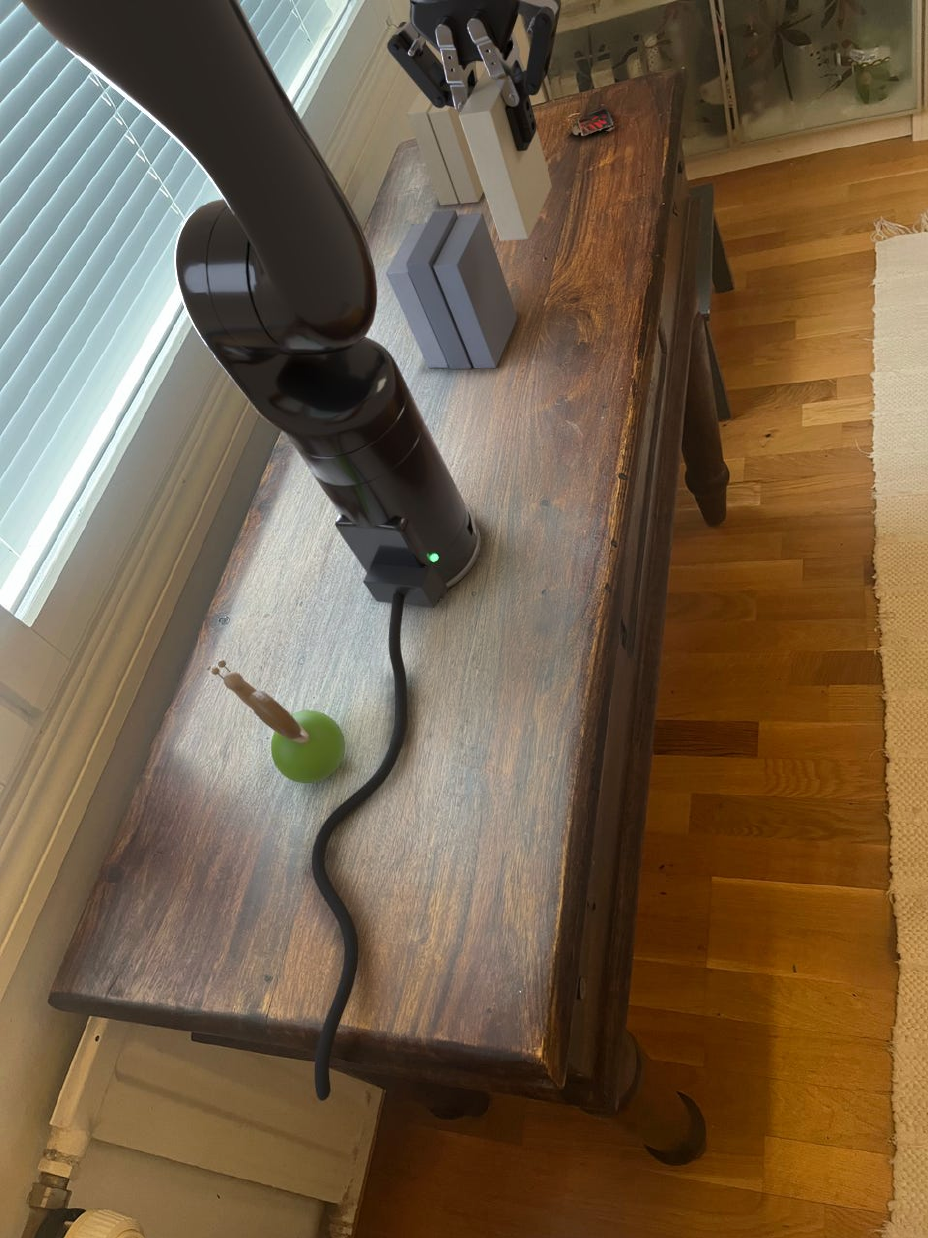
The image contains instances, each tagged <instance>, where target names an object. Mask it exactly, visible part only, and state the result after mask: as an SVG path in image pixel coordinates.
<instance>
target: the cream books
mask: <svg viewBox="0 0 928 1238" xmlns="http://www.w3.org/2000/svg"><path fill="white" fill-rule="evenodd" d="M459 115H460V113H459V112H458V111H457V110H456V108H454V107H450V106H446V105H445V106H444V107H443V108H437V107H435V106H434V105H433V104H432V103H431V101H430V100H429V99H428V98H427V97H426V95H425V94H424V93H423V92H422V91H421V90H419V92H418V94H417V96H416V98H415V100H414V101H413V103H412V104H411V105H410V107H409V110H408V111H407V112H406V116H407V120H408V122H409V125H410V127H411V130H412V133H413V135H414V138H415V141H416V143H417V146H418V149H419V151H420V154H421V157H422V160H423V163H424V165H425V168H426V170H427V173H428V176H429V179H430V181H431V184H432V187H433V189H434V192H435V195H436V197H437V199H438V202H439V205H440V206H441V207H442V206H451V205H459V204H461V205H462V204H472V203H473V204H475V203H479V202H480V200H481V198H482V196H483V194H484V190H483V187H482V184H481V181H480V178H479V175H478V172H477V169H476V166H475V162H474V159H473V156H472V153H471V150H470V147H469V144H468V141H467V138H466V135H465V132H464V129H463V126H462V123H461V120H460V117H459Z"/></svg>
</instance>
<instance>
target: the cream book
mask: <svg viewBox="0 0 928 1238" xmlns="http://www.w3.org/2000/svg"><path fill="white" fill-rule="evenodd" d="M506 105H507V104H506V103H505V101H504V98H503V96H502V94H501V91H500V89H499V87H498V84H497V82H496V80H493V79H492V78H491V77H490V75H489V72H488V70H487V68H486V66H485V67H484V69H483V71H482V73H481V75H480V76H479V78H478V82H477V84H476V85H475V87H474V89H473V91H472V93H471V95H470V96H469V98H468V100H467V102H466V104H465V105H464V107H463V109H462V111H461V113H460V115H459V117H460V120H461V123H462V126H463V129H464V132H465V135H466V138H467V141H468V144H469V147H470V150H471V153H472V156H473V159H474V162H475V166H476V169H477V172H478V175H479V178H480V181H481V184H482V187H483V190H484V192H483V194H484V196H485V199H486V201H487V205H488V207H489V208H488V209H489V211H490V214H491V217H492V220H493V223H494V226H495V229H496V232H497V235H498V238H499V241H500V242H507V241H520V240H521V241H523V240H529V239H530V236H531V234H532V232H533V230H534V228H535V225H536V223H537V221H538V219H539V217H540V215H541V212H542V210H543V208H544V205H545V204H546V201H547V199H548V196H549V194H550V192H551V190H552V187H553V184H552V182H551V177H550V174H549V170H548V166H547V163H546V158H545V154H544V151H543V150H544V149H543V147H542V143H541V139H540V135H539V132H538V128H536V133H535V135H534V137H533V139H532V141H531V143H530V145H529V147H528V149H527V150H526V151H517V149H516V146H515V142H514V139H513V135H512V132H511V128H510V125H509V122H508V118H507V115H506V111H505V107H506Z"/></svg>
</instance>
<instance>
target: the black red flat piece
mask: <svg viewBox="0 0 928 1238" xmlns="http://www.w3.org/2000/svg"><path fill="white" fill-rule="evenodd" d="M612 126H613V127H612ZM606 128H608V129H606ZM616 128H618V127H617V126H616V127H615V126H614V121H613V118H612V117H611V113H610V112H609V111H608V110H607V109H605V108H599V109H598V110H594V111H592V112H590V113H587V114H586V115H584V116H583V117H582V118H580V119H578V120H577V124H575V125H574V126H573V127H571V130H570V131H571V132H572V134H573V135H575V136H579V134H580V135H581V137H584V136H587V135H589V134H592V133H594V132H597V131H602V130H603V129H606V130H605V131H606V132H611V131H613V130H615V129H616Z"/></svg>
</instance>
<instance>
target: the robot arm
mask: <svg viewBox="0 0 928 1238" xmlns="http://www.w3.org/2000/svg"><path fill="white" fill-rule="evenodd" d="M20 1H21V3H22V4H23V5H24V7H26V9H27V10H28V11H29V13H30V14H31V15H32V16H33V17H34V18H35V19H36V21H38V23H39V24H40V25H41V26H42V27H43V28H44V29H45V30H46V31H47V32H48V33H49V34H50V35H51V36H52V37H53V38H54V39H55V40H56V41H58V42H59V43H60V44H61V45H62V46H63V47H64V48H65V49H66V50H67V51H68V52H69V53H71V54H72V55H73V56H74V57H76V58H77V59H78V60H79V61H80V62H81V63H83V64H84V65H85V66H86V67H87V68H88V69H90V70H91V71H92V72H93V73H94V74H95V75H97V76H98V77H99V78H100V79H101V80H103V81H104V82H105V83H107V84H108V85H109V86H111V88H113V89H114V90H116V91H117V92H118V93H119V94H120V95H121V96H122V97H124V98H125V99H126V100H128V101H129V102H130V103H132V104H133V105H134V106H135V107H136V108H137V109H139V110H140V111H141V112H142V113H144V114H145V115H146V116H148V118H150V119H151V120H152V121H153V122H154V123H155V124H156V125H158V126H159V127H160V128H162V130H164V131H165V132H166V133H167V134H169V135H170V136H171V137H172V138H173V139H174V140H175V141H176V142H177V143H178V144H179V145H180V146H181V147H182V148H183V149H184V150H185V151H186V152H187V153H188V154H189V155H190V156H191V157H192V159H193V160H194V161H195V162H196V163H197V164H198V166H200V168H201V169H202V171H204V173H205V174H206V176H207V177H208V178H209V180H210V181H211V182H212V184H213V185H214V187H215V188H216V190H217V191H218V193H219V194H220V196H221V197H222V199H217V200H213V201H209V202H207V203H204V204H201V206H199V207H197V208H196V209H195V210H194V211H193V212H191V213H190V214H189V215H188V217H187V218H186V219H185V220H184V222H183V224H182V226H181V228H180V230H179V233H178V236H177V238H176V244H175V247H174V248H175V249H174V270H175V278H176V279H175V280H176V283H177V287H178V291H179V294H180V298H181V301H182V303H183V306H184V308H185V311H186V313H187V315H188V317H189V319H190V321H191V323H192V325H193V327H194V328H195V330H196V332H197V334H198V335H199V336H200V338H201V339H202V341H203V342H204V343H203V344H205V345H206V347H207V348H208V350H209V351H210V352H211V354H212V355H213V357H214V358H215V359H216V361H217V362H218V363H219V365H220V366H221V367H222V368H223V370H224V371H225V372H226V373H227V375H228V376H229V378H230V379H231V380H232V381H233V383H234V384H235V385H236V386H237V388H238V389H239V390H240V392H241V393H242V395H243V396H244V397H245V398H246V400H247V401H248V403H249V404H250V405H251V406H252V407H253V409H254V411H256V412H257V414H258V415H259V416H260V417H262V419H264V420H265V421H266V422H267V423H268V424H270V425H271V426H273V427H274V428H276V429H277V430H279V431H281V432H283V434H285V435H286V436H287V438H288V439H289V440H290V442H291V443H292V445H293V447H294V449H296V451H297V453H298V454H299V456H300V457H301V459H302V460H303V462H304V463H305V465H306V466H307V468H308V469H309V471H310V473H311V474H312V475H313V477H314V478H315V480H316V481H317V483H318V485H319V486H320V487H321V489H322V491H323V492H324V494H325V496H326V497H327V498H328V500H329V501H330V503H331V504H332V505H333V508H334V509H335V510H336V512H337V513H338V515H337V518H336V519H335V521H334V527H335V528H336V530H337V531H338V532H339V534H340V535H341V537H342V539H343V540H344V542H345V543H346V544H347V546H348V547H349V549H350V550H351V551H352V552H351V553H353V555H354V556H355V558H356V559H357V561H358V562H359V563H360V565H361V566H362V568H363V569H364V571H365V572H366V574H365V577H364V579H363V581H362V583H363V584H364V585H365V587H366V588H367V590H368V591H369V593H370V594H371V596H372V597H373V598H374V600H375V601H376V602H379V603H385V604H386V603H387V604H391V609H390V617H389V626H388V655H389V659H390V664H391V669H392V672H393V679H394V681H393V682H394V722H393V729H392V730H393V731H392V734H391V739H390V743H389V746H388V748H387V751H386V753H385V755H384V758H383V760H382V762H381V764H380V766H379V767H378V769H377V770H376V771H375V773H374V774H373V775H372V776H371V777H370V778H369V780H368V781H366V783H364V784H363V785H362V786H361V787H360V788H359V789H358V790H357V791H355V792H354V793H353V794H351V796H349V797H348V798H347V799H345V801H343V802H342V803H341V804H340V805H339V806H338V807H337V808H336V809H334V811H332V813H331V814H330V815H329V816H328V817H327V819H326V820H325V821H324V822H323V824H322V826H321V828H320V829H319V831H318V833H317V835H316V838H315V841H314V845H313V848H312V854H311V870H312V871H311V872H312V875H313V879H314V881H315V884H316V886H317V888H318V891H319V893H320V894H321V896H322V897H323V899H324V901H325V902H326V904H327V906H328V907H329V909H330V910H331V912H332V914H333V915H334V917H335V919H336V921H337V923H338V925H339V928H340V930H341V931H340V932H341V935H342V938H343V949H344V954H343V956H344V957H343V964H342V971H341V975H340V979H339V983H338V985H337V989H336V992H335V995H334V997H333V999H332V1002H331V1005H330V1006H329V1010H328V1013H327V1015H326V1018H325V1020H324V1023H323V1026H322V1029H321V1031H320V1035H319V1038H318V1043H317V1047H316V1053H315V1059H314V1086H315V1087H314V1088H315V1093H316V1097H317V1099H318V1100H319V1101H320V1102H321V1101H326V1100H327V1099H328V1098H329V1097H330V1094H331V1090H332V1089H331V1080H330V1060H331V1053H332V1048H333V1044H334V1041H335V1038H336V1034H337V1032H338V1028H339V1025H340V1023H341V1020H342V1017H343V1015H344V1013H345V1009H346V1007H347V1004H348V1002H349V999H350V996H351V994H352V990H353V987H354V985H355V980H356V975H357V970H358V963H359V940H358V933H357V930H356V925H355V923H354V920H353V918H352V915H351V913H350V911H349V910H348V908H347V906H346V905H345V903H344V901H343V900H342V898H341V897H340V895H339V893H338V892H337V890H336V889H335V887H334V886H333V884H332V882H331V880H330V878H329V875H328V873H327V868H326V859H325V857H326V851H327V847H328V843H329V840H330V838H331V836H332V834H333V833H334V831H335V830H336V828H337V827H338V826H339V825H340V824H341V822H342V821H344V819H345V818H347V816H349V814H351V813H352V812H353V811H354V810H355V809H356V808H358V807H360V805H361V804H362V803H364V802H365V801H366V800H367V799H369V798H370V797H371V796H372V795H373V794H374V793H375V792H376V791H377V790H378V789H379V788H380V787H381V786H382V785H383V784H384V782H385V781H386V780H387V778H388V777H389V776H390V774H391V772H392V770H393V769H394V766H395V765H396V764H397V760H398V759H399V756H400V753H401V750H402V748H403V744H404V740H405V736H406V732H407V731H406V730H407V724H408V723H407V722H408V693H407V692H408V691H407V689H408V687H407V686H408V685H407V673H406V668H405V663H404V660H403V654H402V646H401V639H402V638H401V635H402V622H403V613H404V606H410V607H411V606H412V607H418V608H419V607H420V608H429V609H435V608H436V605H437V603H438V602H439V601H440V600H443V599H444V598H445V596H446V594H447V591H448V590H449V589H450V588H451V587H454V586H455V585H456V584H457V583H458V582H460V581H461V580H462V579H464V578H465V576H466V575H467V574H469V572H470V571H471V569H472V568H473V567H474V565H475V564H476V562H477V559H478V558H479V554H480V552H481V545H482V537H481V533H480V529H479V527H478V525H477V523H476V521H475V517H474V511H473V509H472V507H471V505H470V504H468V507H467V505H466V503H465V501H464V500H463V497H462V495H461V493H460V490H459V489H458V487H457V485H456V483H455V481H454V479H453V477H452V475H451V473H450V471H449V469H448V466H447V465H446V462H445V461H444V458H443V456H442V454H441V452H440V450H439V448H438V446H437V444H436V442H435V440H434V438H433V436H432V434H431V432H430V430H429V428H428V425H427V423H426V422H425V419H424V417H423V416H422V414H421V411H420V409H419V407H418V405H417V402H416V401H415V398H414V397H413V394H412V392H411V391H410V388H409V386H408V384H407V383H406V380H405V379H404V376H403V374H402V372H401V369H400V367H399V366H398V364H397V362H396V360H395V359H394V357H393V356H392V354H391V353H390V352H389V350H388V349H386V348H385V346H383V345H382V344H380V343H379V342H377V341H375V340H374V339H372V338H369V337H367V335H368V333H369V332H370V330H371V327H372V325H373V323H374V320H375V318H376V317H375V316H376V311H377V306H378V285H377V284H378V283H377V275H376V269H375V265H374V261H373V256H372V253H371V249H370V246H369V243H368V241H367V238H366V236H365V233H364V230H363V228H362V225H361V223H360V221H359V219H358V216H357V215H356V213H355V211H354V209H353V207H352V205H351V204H350V202H349V200H348V198H347V196H346V194H345V193H344V191H343V189H342V187H341V186H340V184H339V182H338V181H337V179H336V177H335V175H334V173H333V172H332V170H331V168H330V167H329V165H328V163H327V161H326V160H325V158H324V156H323V155H322V153H321V151H320V150H319V148H318V146H317V145H316V143H315V142H314V140H313V138H312V136H311V135H310V132H309V131H308V130H307V127H306V126H305V124H304V122H303V121H302V119H301V117H300V115H299V114H298V112H297V110H296V108H295V107H294V105H293V103H292V102H291V100H290V98H289V96H288V95H287V93H286V90H285V89H284V88H283V86H282V84H281V82H280V80H279V78H278V76H277V75H276V72H275V71H274V69H273V67H272V65H271V63H270V60H269V59H268V57H267V55H266V53H265V51H264V49H263V48H262V45H261V43H260V41H259V40H258V37H257V35H256V33H255V30H254V28H253V27H252V25H251V24H250V21H249V19H248V17H247V16H246V13H245V11H244V9H243V7H242V5H241V3H240V1H239V0H20ZM409 6H410V8H409V20H407V21H401V22H400V23H399V25H398V26H397V27H396V29H395V31H394V32H393V34H392V35H391V37H390V39H389V40H388V42H387V44H386V48H387V51H388V52H389V53H390V55H391V56H392V57H393V58H394V60H395V61H396V62H397V63H398V65H399V66H400V67H401V68H402V70H403V71H404V72H405V73H406V74H407V75H408V77H409V78H410V79H411V80H412V82H414V84H415V85H416V86H417V87H418V88H419V90H420V91H422V92H423V93H424V94H425V95H426V97H427V98H428V99H429V100H430V101H431V103H432V104H433V105H434V106H435V107H437V108H443V107H444V106H445V105H446V106H450V107H454V108H456V110H457V111H458V112H459V113H461V111H462V109H463V107H464V105H465V104H466V102H467V100H468V98H469V96H470V95H471V93H472V91H473V89H474V87H475V85H476V84H477V82H478V80H479V78H478V74H477V67H476V65H477V62H482V63H484V65H485V67H486V68H487V70H488V72H489V75H490V77H491V78H492V79H493V80H496V82H497V84H498V87H499V89H500V91H501V94H502V96H503V98H504V101H505V103H506V104H507V105H506V107H505V111H506V115H507V118H508V122H509V125H510V128H511V132H512V135H513V139H514V142H515V146H516V149H517V151H526V150H527V149H528V147H529V145H530V143H531V141H532V139H533V137H534V135H535V133H536V128H537V127H538V125H537V121H536V117H535V113H534V109H533V105H532V102H531V98H530V96H536V95H537V94H539V91H540V90H541V87H542V84H543V83H544V80H545V79H546V78H547V75H548V74H549V71H550V65H551V60H552V54H553V50H554V49H553V48H554V44H555V39H556V33H557V30H558V24H559V18H560V12H561V8H562V0H409ZM518 16H521V18H522V19H523V22H524V29H525V32H526V34H527V35H528V36H530V37H531V39H530V45H529V51H528V57H527V63H526V67H524V64H523V62H522V59H521V57H520V53H521V52H520V45H519V44H518V41H517V39H516V36H515V33H514V29H515V26H516V23H517V20H518ZM427 42H428V43H429V44H430V45H431V46H432V47H433V48H434V49H435V50H436V51H437V52H439V53H440V55H441V59H442V62H441V60H440V59H439V58H438V57H437V56H436V54H435V53H434V52H433V51H432V49H431V48H430V47H429V45H428V44H427ZM537 129H538V128H537Z"/></svg>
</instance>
